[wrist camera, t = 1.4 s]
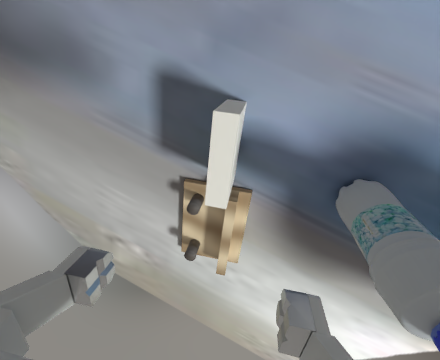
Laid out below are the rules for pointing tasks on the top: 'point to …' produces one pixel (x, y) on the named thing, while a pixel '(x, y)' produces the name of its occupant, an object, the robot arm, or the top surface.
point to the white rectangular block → (224, 151)
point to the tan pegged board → (213, 224)
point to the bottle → (396, 255)
